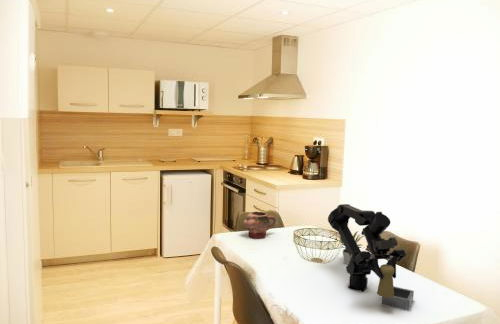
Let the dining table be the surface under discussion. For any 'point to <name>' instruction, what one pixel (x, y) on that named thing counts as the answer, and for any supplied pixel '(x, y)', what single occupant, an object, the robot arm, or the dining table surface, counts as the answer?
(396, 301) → the square metal tray
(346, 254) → the house plant
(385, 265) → the cork
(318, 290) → the dining table surface
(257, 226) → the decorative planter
